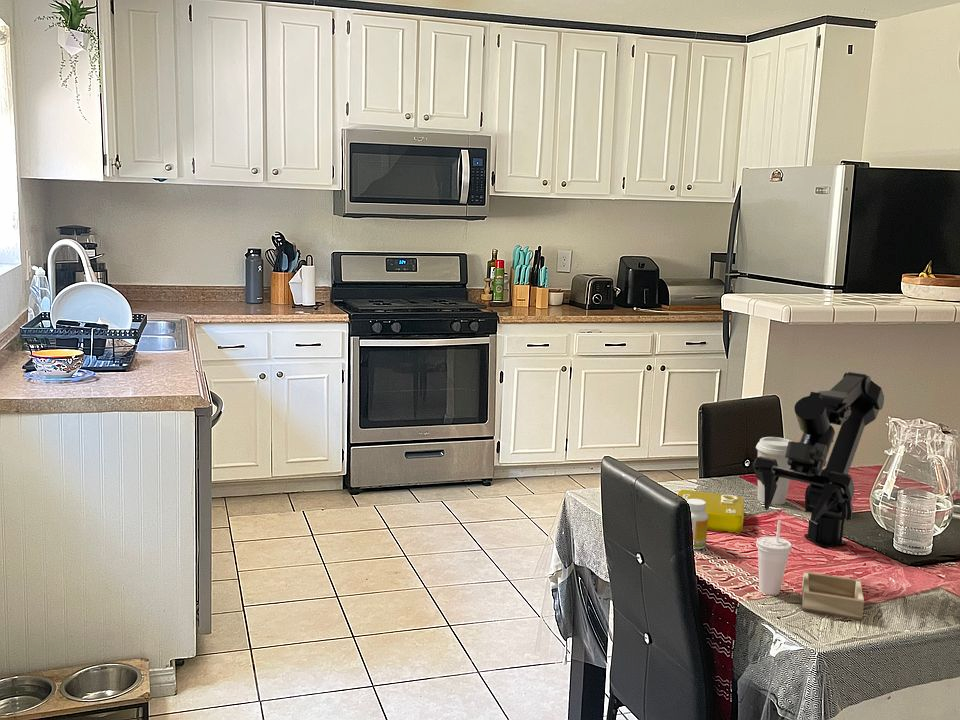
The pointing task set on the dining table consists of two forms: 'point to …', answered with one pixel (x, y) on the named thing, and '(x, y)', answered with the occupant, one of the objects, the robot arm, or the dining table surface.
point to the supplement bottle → (698, 522)
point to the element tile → (720, 509)
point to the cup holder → (832, 595)
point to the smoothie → (772, 561)
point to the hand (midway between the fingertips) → (789, 514)
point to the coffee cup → (777, 450)
